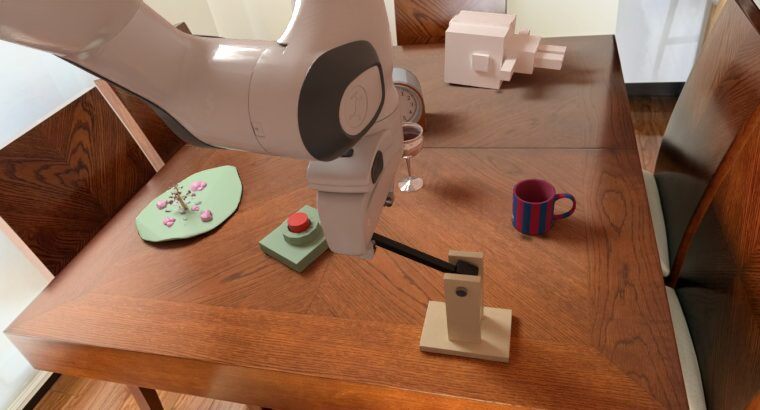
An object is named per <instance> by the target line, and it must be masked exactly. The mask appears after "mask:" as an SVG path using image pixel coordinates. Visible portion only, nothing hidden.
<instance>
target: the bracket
mask: <svg viewBox="0 0 760 410" xmlns="http://www.w3.org/2000/svg"><path fill="white" fill-rule="evenodd" d="M458 260H462V261H464V262H467V263H469V264H472V265H474V266H477V267H479V272H478V276H473V275H462V274H451V273H443V279H442V280H443V281H442V282H443V292H444V293H443V294H444V301H437V300H428V304H427V308H426V313H425V317H424V322H423V326H422V330H421V336H420V339H419V340H420V341H419V345H418V347H419V351H421V352H428V353H434V354H441V355H449V356H456V357H464V358H469V359H470V358H471V359H479V360H484V361H485V360H486V361H492V362H501V363H507V364H508V363H510V351H511V350H510V349H511V336H512V321H513V309H508V308H500V307H492V306H491V307H490V306H485V252H483V251H469V250H458V249H457V250H456V249H448V254H447V262H448V263H451V264H453V265H456V263H457V262H458Z"/></svg>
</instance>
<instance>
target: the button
mask: <svg viewBox="0 0 760 410" xmlns="http://www.w3.org/2000/svg"><path fill="white" fill-rule="evenodd" d="M288 217H289V218H288ZM288 217H287V218H288V220H287V222H288V225H289V228H290V230H291V232H293V233H301V232H303V231H306V230H307V229H308V228H309V226H310V222H309V219H308V216H307V214H305V213H303V212H298V213H296V212H294V213H292V214H291V215H289V216H288Z"/></svg>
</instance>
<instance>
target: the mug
mask: <svg viewBox="0 0 760 410" xmlns="http://www.w3.org/2000/svg"><path fill="white" fill-rule="evenodd" d="M561 199H568V200H571V202H572V205H571V206H572V207H571V208H570V210H568V211H566V212H563V213H560V214H559V213H558V214H554V213H555V205H556V202H557V201H558V200H561ZM576 208H577V201H576V198H575V196H574V195H573V194H571V193H565V192H564V193H563V192H562V193H557V191H556V187H554V185H553V184H551V182H549V181H546V180H544V179H540V178H527V179H523V180H521V181H518V182H517V183H515V184H514V186H513V188H512V204H511V224H512V227H513V228H514V229H515V230H516V231H518V232H520V233H522V234H523V235H524V234H525V235H530V236H537V235H542V234H544V233H546V232H549V230H550V229H551V228H552V227H553V223H554V221H559V220H564V219H567V218H569V217H571V216H572V215H573V214H574V212H575V211H576Z"/></svg>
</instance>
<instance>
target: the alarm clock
mask: <svg viewBox="0 0 760 410" xmlns="http://www.w3.org/2000/svg"><path fill="white" fill-rule="evenodd" d="M392 78H393V83H394V86H395V88H396V90H397V92H398V96H399V103H400V111H401V119H402V123H404V122H411V123H416V124H418V125H420V126H421V127H422V129H423V132H426V131H428V128H427V118H426V106H425V101H424V96H423V91H422V87H421V83H420V81H419V79H418V77H417V76H416V75H415V74H414V73H413V72H412V71H410V70H409V69H406V68H405V67H400V66H394V67H393V73H392Z"/></svg>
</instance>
